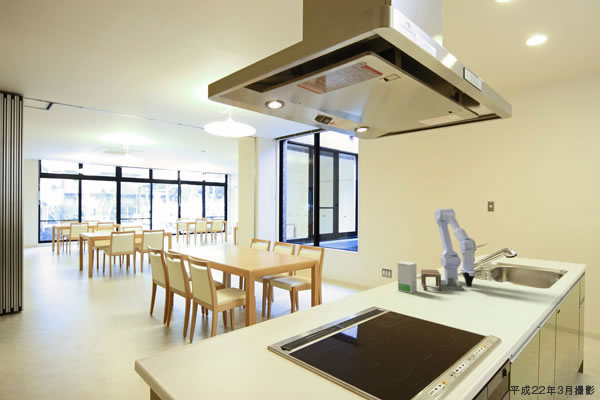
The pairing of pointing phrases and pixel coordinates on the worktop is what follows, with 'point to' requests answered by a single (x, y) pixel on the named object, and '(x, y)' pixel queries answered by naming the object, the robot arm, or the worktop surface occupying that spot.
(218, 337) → the worktop surface
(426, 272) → the walnut shelf
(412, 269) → the skincare box
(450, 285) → the grey plastic caddy
